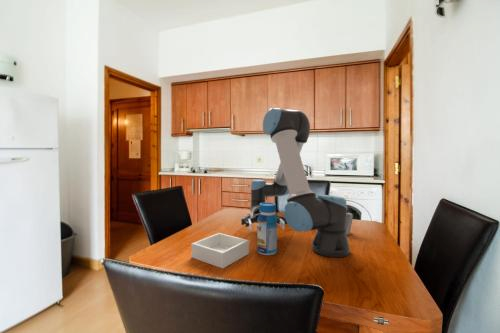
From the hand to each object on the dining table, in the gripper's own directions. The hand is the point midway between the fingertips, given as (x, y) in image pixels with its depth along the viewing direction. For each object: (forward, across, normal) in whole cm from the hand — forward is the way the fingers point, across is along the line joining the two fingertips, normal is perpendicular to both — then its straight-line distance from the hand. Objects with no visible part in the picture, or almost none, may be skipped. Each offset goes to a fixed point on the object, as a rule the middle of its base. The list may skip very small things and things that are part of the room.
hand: (267, 226), depth 100 cm
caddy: (+1, +19, -11) cm, 22 cm away
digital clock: (-26, -41, -11) cm, 50 cm away
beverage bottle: (-2, 0, -11) cm, 11 cm away
